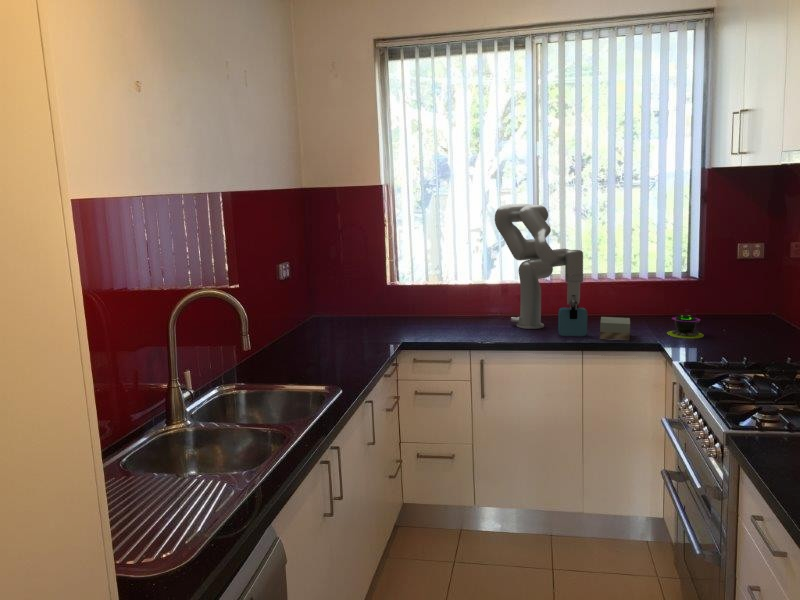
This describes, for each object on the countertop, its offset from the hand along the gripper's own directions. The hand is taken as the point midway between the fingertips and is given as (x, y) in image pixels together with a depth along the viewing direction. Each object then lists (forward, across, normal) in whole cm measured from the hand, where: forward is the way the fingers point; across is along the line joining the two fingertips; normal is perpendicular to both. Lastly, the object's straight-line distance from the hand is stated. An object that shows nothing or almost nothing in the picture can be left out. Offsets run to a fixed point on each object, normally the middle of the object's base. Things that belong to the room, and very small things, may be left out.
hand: (574, 316), depth 292 cm
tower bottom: (+9, -1, +17) cm, 19 cm away
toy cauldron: (+10, -12, +46) cm, 49 cm away
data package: (+8, -1, -1) cm, 9 cm away
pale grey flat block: (+5, 0, +17) cm, 18 cm away
